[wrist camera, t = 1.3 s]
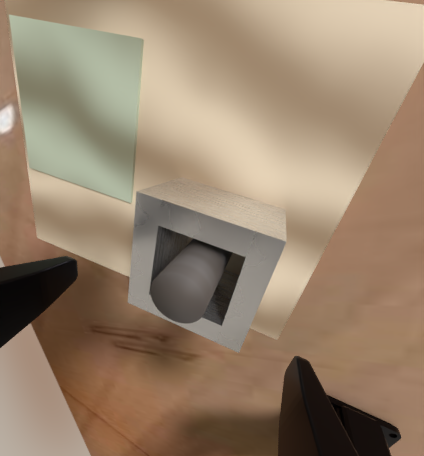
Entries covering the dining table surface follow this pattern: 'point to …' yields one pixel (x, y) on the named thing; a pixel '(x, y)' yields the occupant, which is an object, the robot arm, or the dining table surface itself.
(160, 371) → the dining table surface
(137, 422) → the dining table surface
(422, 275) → the dining table surface
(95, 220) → the board
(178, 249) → the collar
